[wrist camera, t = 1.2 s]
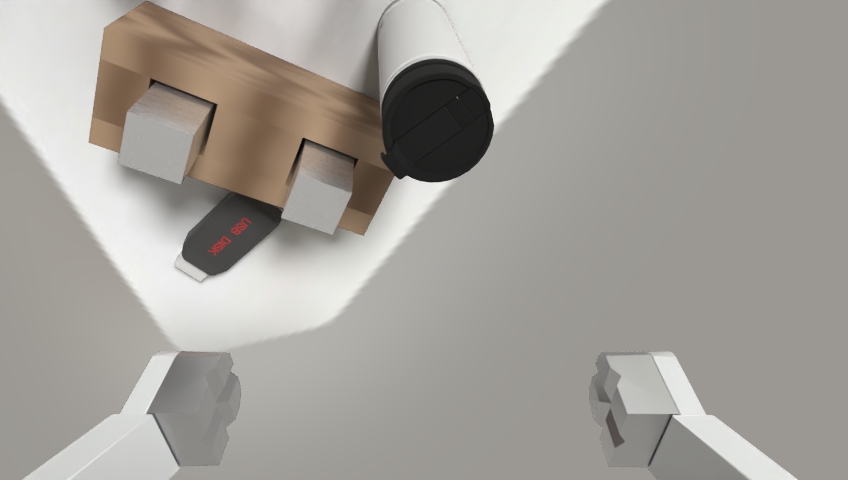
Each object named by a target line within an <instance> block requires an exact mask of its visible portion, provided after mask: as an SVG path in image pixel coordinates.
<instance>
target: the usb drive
mask: <svg viewBox="0 0 848 480" xmlns="http://www.w3.org/2000/svg"><path fill="white" fill-rule="evenodd" d="M281 215H282V211H280V210H279V209H278V208H276V207H275V206H274V205H272V204H269V203H266V202H263V201H260V200H257V199H254V198H251V197H248V196H245V195H242V194H239V193H236V192H233V191H231V192H230V193H229V194H228V195H227V196H226V197H225V198H224V199H223V200H222V201H221V202H220V203H219V204H218V205H217V206H216V207H214V208H213V209H212V210H211V211H210V212H209V213H208V214H207V215H206V216H205V217H204V218H203V219H202V220H201V221H200V222H199V223H198V224H197V225H196V226H195V227H194V228H193V229H192V230H191V231H190V232H189V233H188V235H187V237H186V239H185V241H184V244H183V249H182V252H181V253H180V254H179V255H178V257H177V259H176V261H175V263H174V266H175V267H177V268H179V269H180V270H182V271H184V272H185V273H187V274H188V275H190V276H192V277H193V278H195V279H197V280H198V281H200V282H201V281H202V280H203V279H205V278H206V277H207V276H208V275H210V276H211V275H216V274H219V273H222V272H224V271H227V270H228V269H229V268H230V267H232V266H233V265H234V264H235V263H236V262H237V261H238V260H239V259H241V258H242V257H243V256H244V255H245V254H246V253H247V252H249V251H250V250H251V249H252V248H253V247H254V246H255V245H256V244H258V243H259V242H260V241H261V240H262V239H263V238H264V237H266V236H267V235H268V234H269V233H270V232H271V231H272V230H273V229H275V228H276V227H277V226H278V225H279V223H280V222H281V220H282V218H281Z"/></svg>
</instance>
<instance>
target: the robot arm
mask: <svg viewBox="0 0 848 480" xmlns="http://www.w3.org/2000/svg"><path fill="white" fill-rule="evenodd" d="M232 366H233V361H232V359H231V356H230V354H229V353H224V352H186V351H181V352H174V351H158V352H157V353H156V354H155V355H153V356H152V357H151V359H150V361H149V363H148V364H147V366H146V368H145V370H144V371H143V373H142V375H141V377H140V378H139V380H138V382H137V384H136V385H135V387H134V389H133V391H132V392H131V394H130V396H129V398H128V399H127V401H126V403H125V405H124V406H123V408H122V410H121V412H120V413H119V414H112V415H110V416H109V417H108V418H106V419H105V420H103V421H102V422H101V423H99V424H98V425H97V426H95V427H94V428H92V429H91V430H90V431H88V432H87V433H86V434H84V435H83V436H82V437H80V438H79V439H77V440H76V441H75V442H73V443H72V444H71V445H69V446H68V447H66V448H65V449H63V450H62V451H61V452H59V453H58V454H57V455H55V456H54V457H52V458H51V459H50V460H48V461H47V462H46V463H44V464H43V465H42V466H40V467H39V468H37V469H36V470H35V471H33V472H32V473H30V474H29V475H28V476H26V477H25V478H24V479H22V480H169V479H170V478H171V477H172V476H173V475H174V474H175V473H176V472H177V471H178V470H179V466H209V465H210V466H213V465H219V464H220V461H221V458H222V455H223V453H224V450H225V447H226V444H227V442H228V439H229V436H228V434H227V431H226V427H227V426H228V425H229V424H230V423H232V422H233V421H234V420H235V419H236V416H237V413H238V409H239V406H240V398H241V389H240V382H239V379H238V377H237V376H236V375H235V374H233V373H232V372H231V368H232ZM596 367H597V370H598V373H597V374H596V375H594V376H593V377H592V379H591V383H590V387H589V400H590V406H591V411H592V414H593V418H594V420H595V421H596V422H597V423H598V424H599V425H600V426H601V427H602V428H603V429H602V432H601V435H600V441H601V445H602V448H603V451H604V454H605V457H606V460H607V464H608V466H610V467H645V468H646V467H647V468H649V469H648V470H649V471H650V472H651V473H652V474H653V475H654V477H655V478H656V479H657V480H797V479H796V478H795V477H793V476H792V475H791V474H790V473H788V472H787V471H786V470H784V469H783V468H782V467H780V466H779V465H778V464H776V463H775V462H774V461H772V460H771V459H770V458H769V457H767V456H766V455H765V454H763V453H762V452H761V451H759V450H758V449H757V448H755V447H754V446H753V445H752V444H750V443H749V442H748V441H746V440H745V439H744V438H742V437H741V436H740V435H738V434H737V433H736V432H735V431H733V430H732V429H731V428H729V427H728V426H726V425H725V424H724V423H723V422H721V421H720V420H719V419H717V418H716V417H715V416H713V415H706V414H705V412H704V410H703V408H702V406H701V404H700V402H699V400H698V398H697V396H696V395H695V393H694V391H693V389H692V387H691V385H690V383H689V381H688V379H687V377H686V375H685V373H684V372H683V370H682V368H681V366H680V364H679V362H678V360H677V358H676V356H675V355H674V354H672V353H671V352H601V353H600V354H599V355H598V358H597V361H596Z"/></svg>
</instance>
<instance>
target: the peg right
mask: <svg viewBox="0 0 848 480" xmlns="http://www.w3.org/2000/svg"><path fill="white" fill-rule="evenodd" d="M353 170H354V157H352V156H350V155H347V154H344V153H342V152H339V151H337V150H334V149H332V148H329V147H326V146H324V145H321V144H319V143H316V142H314V141H311V140H308V139H306V138H305V140H304V143H303V145H302V148H301V151H300V153H299V156H298V158H297V161H296V164H295V166H294V169H293V171H292V175H291V179H290V183H289V187H288V191H287V195H286V199H285V203H284V207H283V211H282V215H281V218H283V219H286V220H289V221H292V222H295V223H298V224H301V225H304V226H307V227H310V228H313V229H316V230H319V231H322V232H325V233H328V234H331V235H333V233H334V231H335V229H336V227H337V225H338V223H339V220H340V218H341V216H342V214H343V212H344V210H345V208H346V206H347V203H348V201H349V199H350V197H351V195H352V188H353Z"/></svg>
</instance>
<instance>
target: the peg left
mask: <svg viewBox="0 0 848 480" xmlns="http://www.w3.org/2000/svg"><path fill="white" fill-rule="evenodd" d="M216 105H217V104H216V103H213V102H211V101H208V100H206V99H203V98H200V97H198V96H195V95H193V94H190V93H188V92H185V91H182V90H180V89H177V88H175V87H172V86H170V85H167V84H164V83H162V82H159V81H156V82H155V83H154V84H153V85H152V86H151V87H150V88H149V89H148V90H147V91H146V93H145V94H144V95H143V96H142V97H141V98H140V99H139V100H138V101H137V102H136V103H135V104H134V105H133V106H132V107H131V108H130V109H129V110H128V111H127V115H126V121H125V126H124V132H123V138H122V144H121V149H120V155H119V161H118V164H120V165H123V166H126V167H129V168H132V169H135V170H138V171H141V172H144V173H147V174H150V175H153V176H156V177H159V178H162V179H165V180H168V181H171V182H174V183H177V184H180V185H181V184H182V182H183V180H184V179H185V177H186V175H187V173H188V172H189V170H190V168H191V167H192V165H193V163H194V162H195V160H196V158H197V156H198V155H199V153H200V151H201V150H202V148H203V146H204V144H205V143H206V141H207V138H208V134H209V131H210V127H211V123H212V120H213V116H214V112H215V109H216Z"/></svg>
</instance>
